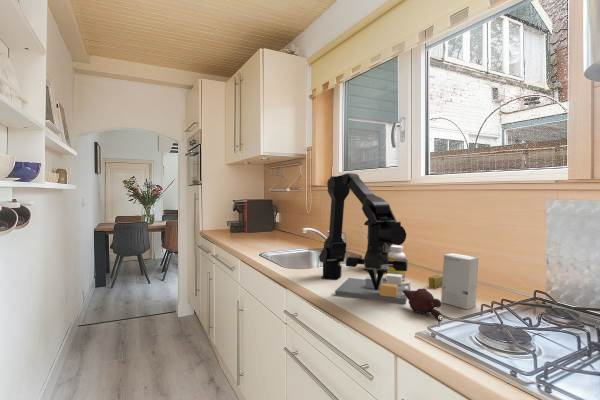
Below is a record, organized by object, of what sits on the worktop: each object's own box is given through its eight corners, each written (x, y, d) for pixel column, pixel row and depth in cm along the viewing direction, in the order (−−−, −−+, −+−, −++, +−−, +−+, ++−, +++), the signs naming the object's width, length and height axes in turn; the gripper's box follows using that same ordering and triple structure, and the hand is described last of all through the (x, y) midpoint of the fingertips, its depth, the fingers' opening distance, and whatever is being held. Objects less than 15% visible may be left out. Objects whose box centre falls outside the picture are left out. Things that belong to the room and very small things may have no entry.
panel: (335, 295, 111) (335, 287, 111) (348, 281, 128) (348, 274, 127) (405, 303, 103) (405, 295, 102) (410, 288, 119) (410, 280, 119)
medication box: (446, 282, 128) (446, 271, 128) (453, 283, 126) (453, 273, 126) (428, 287, 121) (428, 276, 121) (435, 289, 119) (435, 278, 119)
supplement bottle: (406, 282, 128) (406, 248, 127) (387, 281, 129) (388, 247, 129) (404, 277, 134) (404, 245, 134) (387, 276, 136) (387, 244, 135)
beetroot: (391, 284, 101) (428, 304, 87) (411, 276, 103) (450, 294, 89) (394, 305, 102) (431, 328, 88) (414, 297, 105) (453, 318, 91)
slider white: (386, 284, 119) (386, 275, 119) (387, 281, 122) (387, 273, 122) (401, 285, 117) (401, 277, 117) (402, 283, 120) (402, 274, 120)
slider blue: (365, 287, 114) (365, 278, 114) (367, 284, 118) (367, 276, 118) (380, 289, 112) (380, 280, 112) (382, 286, 116) (382, 277, 116)
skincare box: (440, 302, 104) (441, 254, 103) (450, 299, 108) (451, 252, 107) (468, 310, 97) (469, 258, 97) (478, 306, 101) (478, 256, 101)
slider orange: (379, 295, 106) (379, 285, 106) (381, 292, 109) (381, 283, 109) (396, 297, 104) (396, 287, 104) (397, 294, 107) (397, 284, 107)
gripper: (341, 242, 103) (341, 293, 104) (405, 246, 96) (404, 300, 97) (350, 237, 114) (349, 284, 114) (408, 241, 107) (408, 290, 107)
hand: (376, 289), depth 108 cm, fingers closed
